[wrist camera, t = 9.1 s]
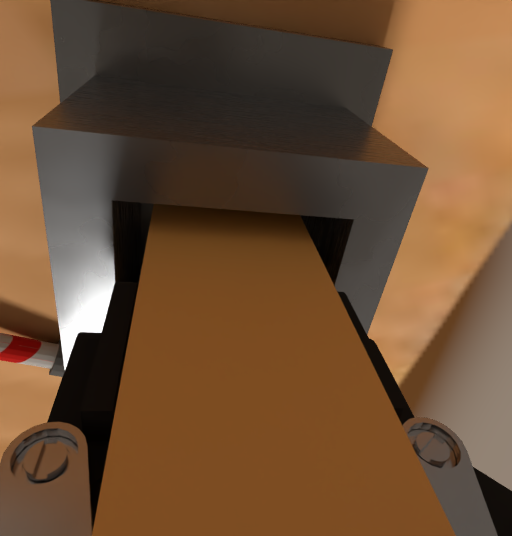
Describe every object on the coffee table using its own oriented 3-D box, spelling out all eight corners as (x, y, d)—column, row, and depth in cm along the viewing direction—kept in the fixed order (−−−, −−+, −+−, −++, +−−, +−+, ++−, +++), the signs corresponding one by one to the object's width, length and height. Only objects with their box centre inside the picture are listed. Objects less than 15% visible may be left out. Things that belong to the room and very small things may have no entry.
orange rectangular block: (154, 201, 13) (9, 981, 3) (298, 212, 13) (604, 841, 3) (152, 317, 15) (71, 962, 5) (275, 321, 16) (416, 881, 6)
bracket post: (62, -6, 15) (-1122, -14, 1) (378, 45, 17) (1053, 226, 4) (95, 387, 25) (-15, 824, 12) (288, 387, 27) (378, 757, 14)
